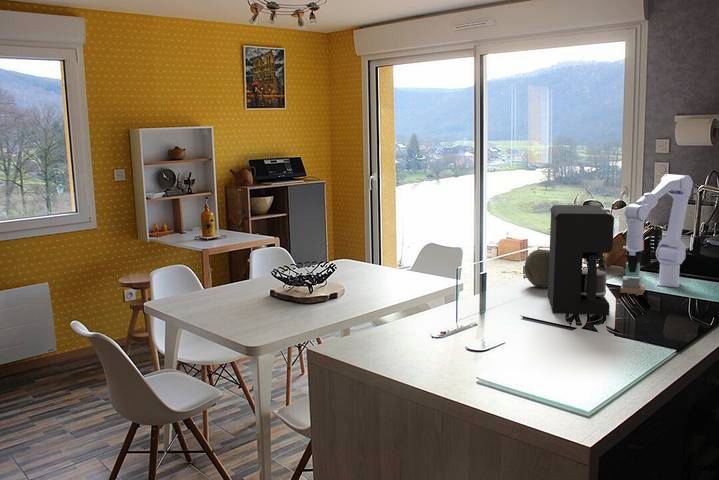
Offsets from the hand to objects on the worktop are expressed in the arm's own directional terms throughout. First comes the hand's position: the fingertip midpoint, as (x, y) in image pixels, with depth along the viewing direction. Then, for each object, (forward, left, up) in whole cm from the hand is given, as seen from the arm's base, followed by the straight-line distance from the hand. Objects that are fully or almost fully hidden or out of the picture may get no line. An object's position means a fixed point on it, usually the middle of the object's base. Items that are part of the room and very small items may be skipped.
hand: (632, 270), depth 260 cm
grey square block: (0, -1, -6) cm, 6 cm away
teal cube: (0, 0, -2) cm, 2 cm away
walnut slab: (0, 0, -9) cm, 9 cm away
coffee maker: (+30, -15, -9) cm, 35 cm away
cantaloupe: (+5, -33, -9) cm, 34 cm away
